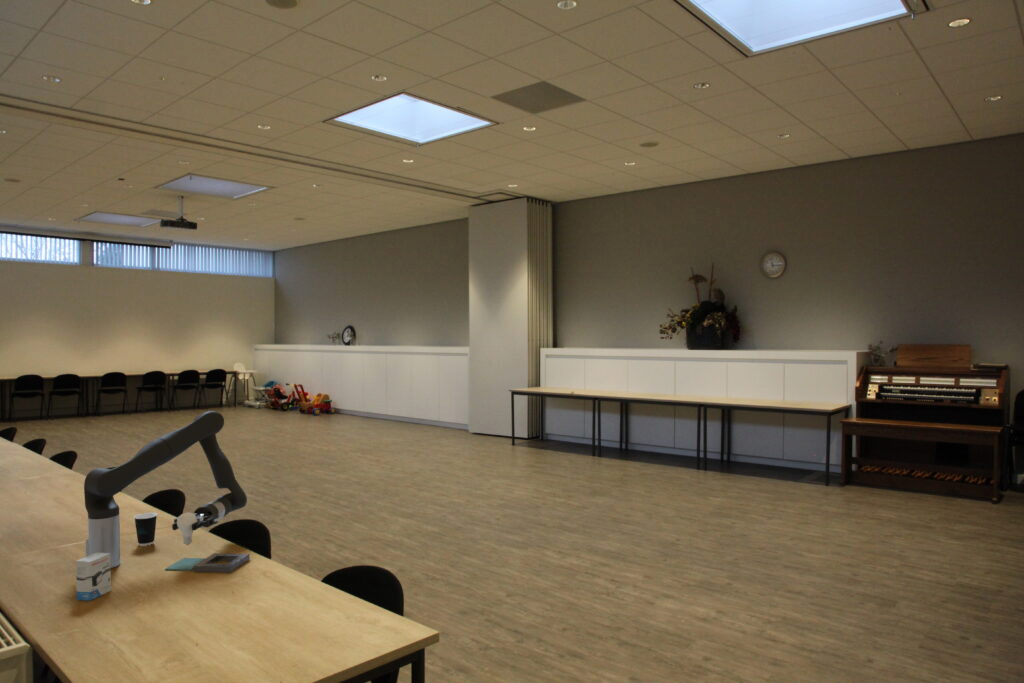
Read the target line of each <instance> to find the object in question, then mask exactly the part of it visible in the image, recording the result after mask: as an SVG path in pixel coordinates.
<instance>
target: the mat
mask: <svg viewBox="0 0 1024 683" xmlns="http://www.w3.org/2000/svg"><path fill="white" fill-rule="evenodd" d="M206 558H207V557H206ZM206 558H205V557H204V558H203V557H202V558H201V557H198V558H197V557H184V558H181V559H180V560H178V561H175V563H173V564H171V565H169V566H168V567H166V568H165V571H180V572H181V571H183V572H184V571H187V572H188V571H189V572H191V571H193V566H194V565H196V564H197V563H199V562H201V561H202V560H204V559H206Z"/></svg>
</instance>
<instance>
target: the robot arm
mask: <svg viewBox="0 0 1024 683" xmlns="http://www.w3.org/2000/svg"><path fill="white" fill-rule="evenodd" d="M224 425H225V418H224V416H223V415H222V413H220V412H218V411H215V410H209V411H206V412H203V413H201V414H199V415H198V416H196V417H195V418H193V421H192V422H191V423H188V424H187V425H184V426H183V427H180V428H178V429H175V430H173V431H171V432H168V433H166V434H163V435H161V436H159V437H158V438H156V439H153V440H152V441H150V442H149V443H147V444H145V445H144V446H143V447H142V448H141V449H140V450H139V451H138V452H137V453H136V454H135V455H134V456H133V457H132V458H130V459H129V460H128V461H126V462H123V463H122V464H120V465H118V466H116V467H114V468H111V469H110V468H105V467H98V468H97V467H96V468H94V469H92V470H91V471H89V472H88V473H87V475H86V477H84V478H85V479H84V483H83V490H84V491H83V493H84V506H85V510H86V512H87V522H88V523H87V528H88V529H87V531H88V534H87V536H88V538H87V539H86V540H85V557H87V556H89V555H92V554H94V553H110V563H111V569H113V568H115V567H117V566H119V565H121V534H120V533H121V531H120V530H121V529H120V526H121V524H120V506H119V505H118V504H117V502H116V500H115V495H117V494H119V493H120V492H121V491H123V490H124V489H125V488H127V487H128V486H130V485H131V484H133V483H134V482H136V481H137V480H138V479H140V478H142V477H143V476H145V475H147V474H149V473H151V472H152V471H154V470H156V469H157V468H159V467H161V466H163V465H165V464H166V463H168V462H170V461H171V460H173V459H174V458H176V457H179V455H181V454H182V453H184V452H185V451H186V450H188V449H190V448H191V447H192V446H193V445H195V444H196V443H199V445H200V446H201V449H202V450H203V452H204V454H205V456H206V458H207V461H208V463H209V466H210V469H211V472H212V475H213V478H214V481H215V484H216V487H217V488H218V489H219V490H224V489H228V490H229V492H228V493H226V494H222V495H221V496H219V497H217V498H216V499H214V500H213V501H209V502H207V503H205V504H203V505H200V506H199V507H197V508H196V509H195V510H194V512H192V513H193V514H194V515H195V516H196V517H197V522H195V523H193V524H192V530H193V531H196V530H198V529H200V528H201V529H202V528H209V527H211V526H214V525H216V524H218V523H219V521H220V520H221V519H223V518H224V517H226V516H227V515H229V513H231V512H234V511H236V510H239V509H242V508H244V507H245V506H247V502H248V498H247V494H246V492H245V491H244V489H243V488H242V487H241V485H240V483H239V482H238V480H237V479H236V477H235V474H234V470H233V467H232V465H231V463H230V460H229V459H228V457H227V456H226V455H225V453H224V452H223V450H222V449H221V447H220V445H219V443H218V439H217V434H218V433H219V432H220V431H222V429H223V427H224ZM178 518H179V516H178V517H175V519H173V523H172V525H171V526H172V527H171V529H172V531H176V530H180V529H179V528H178V526H177V519H178Z"/></svg>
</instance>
